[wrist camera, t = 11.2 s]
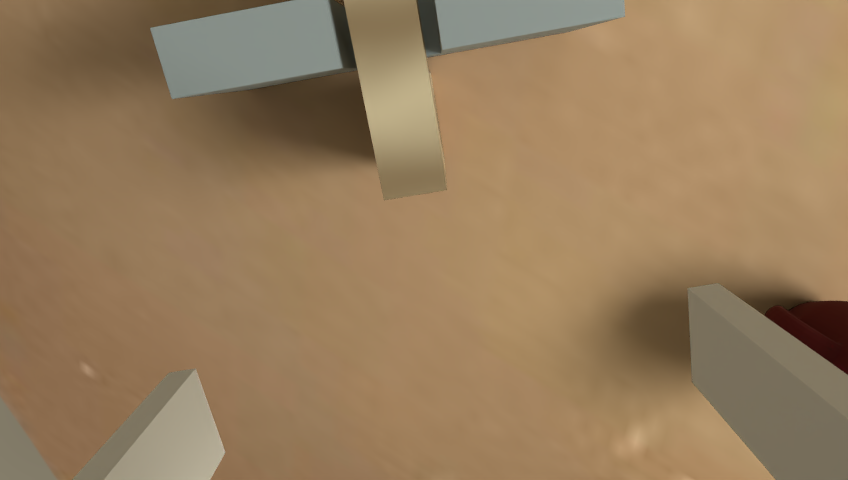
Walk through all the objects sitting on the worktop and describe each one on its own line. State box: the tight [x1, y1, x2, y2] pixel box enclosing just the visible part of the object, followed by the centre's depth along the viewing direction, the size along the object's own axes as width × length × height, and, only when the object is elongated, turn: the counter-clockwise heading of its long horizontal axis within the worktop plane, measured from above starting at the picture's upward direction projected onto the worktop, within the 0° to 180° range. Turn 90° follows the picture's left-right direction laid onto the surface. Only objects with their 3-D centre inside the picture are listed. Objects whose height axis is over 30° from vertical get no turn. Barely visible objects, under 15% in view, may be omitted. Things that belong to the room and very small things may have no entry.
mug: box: [764, 301, 848, 374], centre depth 32 cm, size 11×8×10 cm
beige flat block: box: [344, 0, 447, 200], centre depth 27 cm, size 15×3×10 cm, turn 10°
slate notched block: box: [150, 0, 625, 99], centre depth 27 cm, size 20×3×10 cm, turn 100°
